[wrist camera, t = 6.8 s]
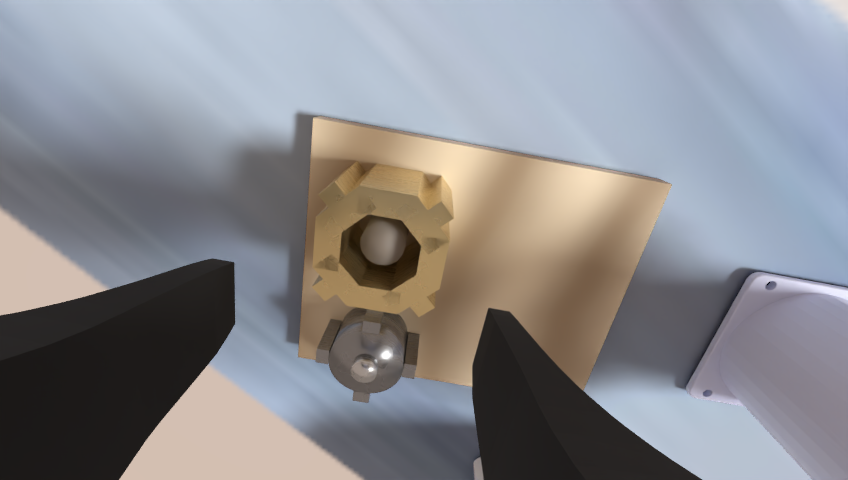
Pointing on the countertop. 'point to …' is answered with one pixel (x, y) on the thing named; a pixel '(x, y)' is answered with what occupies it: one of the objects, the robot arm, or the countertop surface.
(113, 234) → the countertop surface
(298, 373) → the countertop surface
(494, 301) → the gear board
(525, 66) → the countertop surface
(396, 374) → the gear
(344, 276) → the brass gear
